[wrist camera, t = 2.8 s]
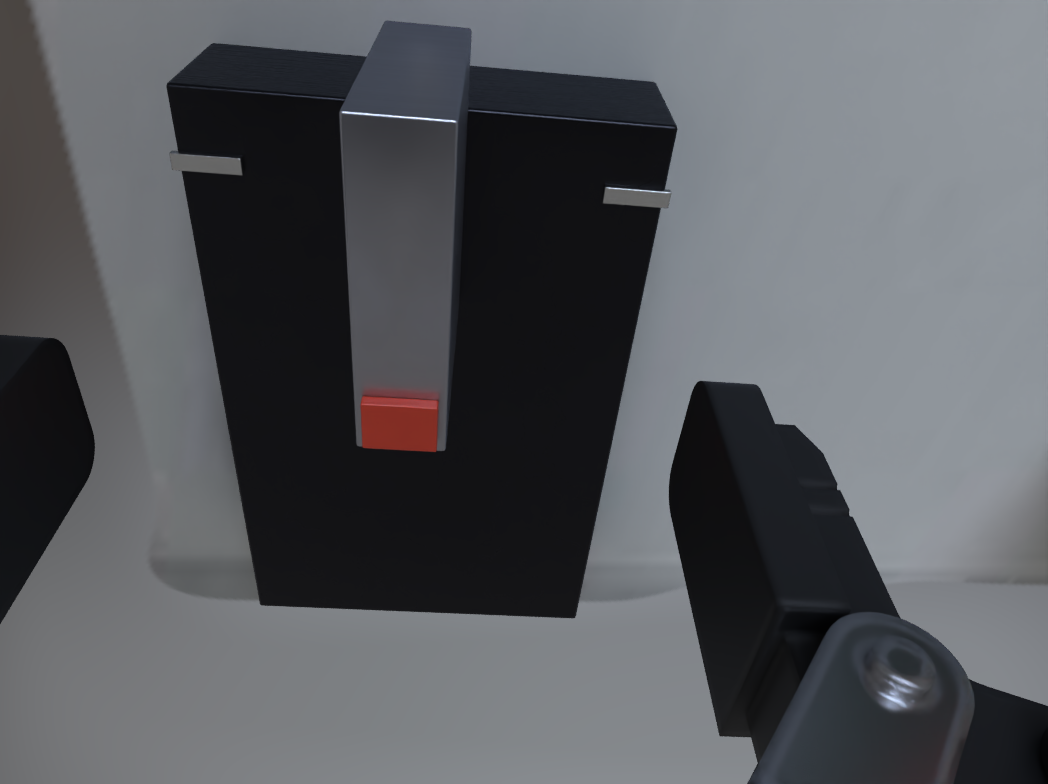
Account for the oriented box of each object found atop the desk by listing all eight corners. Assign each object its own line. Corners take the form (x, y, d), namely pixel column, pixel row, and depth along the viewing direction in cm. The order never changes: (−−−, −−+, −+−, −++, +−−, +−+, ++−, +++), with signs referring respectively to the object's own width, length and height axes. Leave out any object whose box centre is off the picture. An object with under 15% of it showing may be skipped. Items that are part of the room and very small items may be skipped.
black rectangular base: (177, -156, 15) (113, -143, 13) (695, -102, 16) (730, -80, 14) (278, 534, 27) (254, 610, 25) (572, 548, 28) (579, 623, 25)
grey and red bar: (384, 20, 14) (334, 116, 10) (471, 27, 15) (458, 126, 10) (388, 301, 18) (353, 456, 14) (459, 306, 18) (444, 461, 14)
